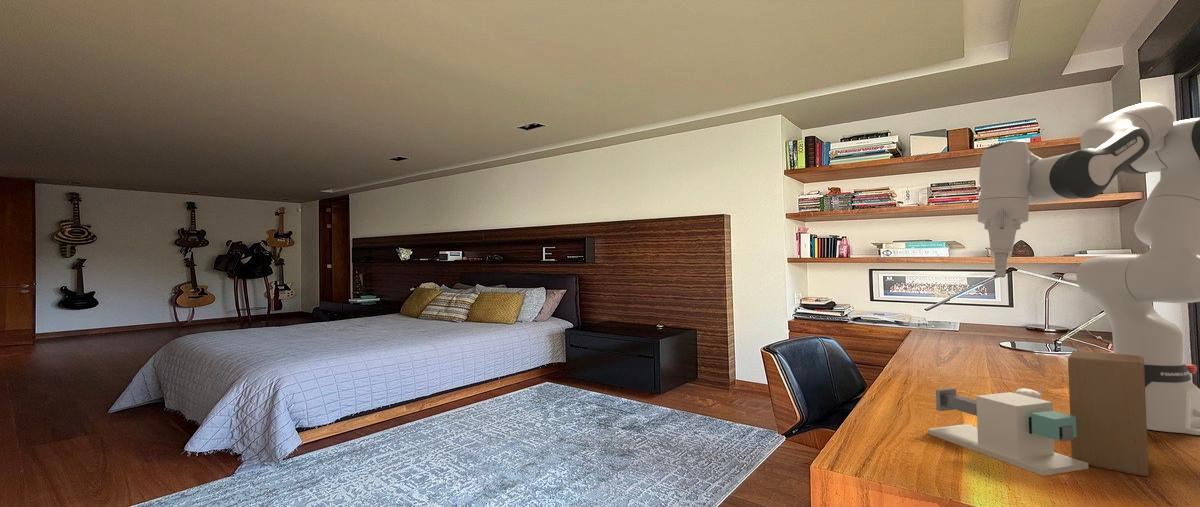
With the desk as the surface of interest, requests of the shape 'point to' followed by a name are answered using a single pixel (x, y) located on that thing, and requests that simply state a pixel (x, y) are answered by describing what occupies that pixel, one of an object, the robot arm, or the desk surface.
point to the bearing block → (1010, 434)
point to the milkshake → (1029, 392)
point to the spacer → (1051, 423)
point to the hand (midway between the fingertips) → (1000, 276)
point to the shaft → (951, 401)
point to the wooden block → (1109, 411)
